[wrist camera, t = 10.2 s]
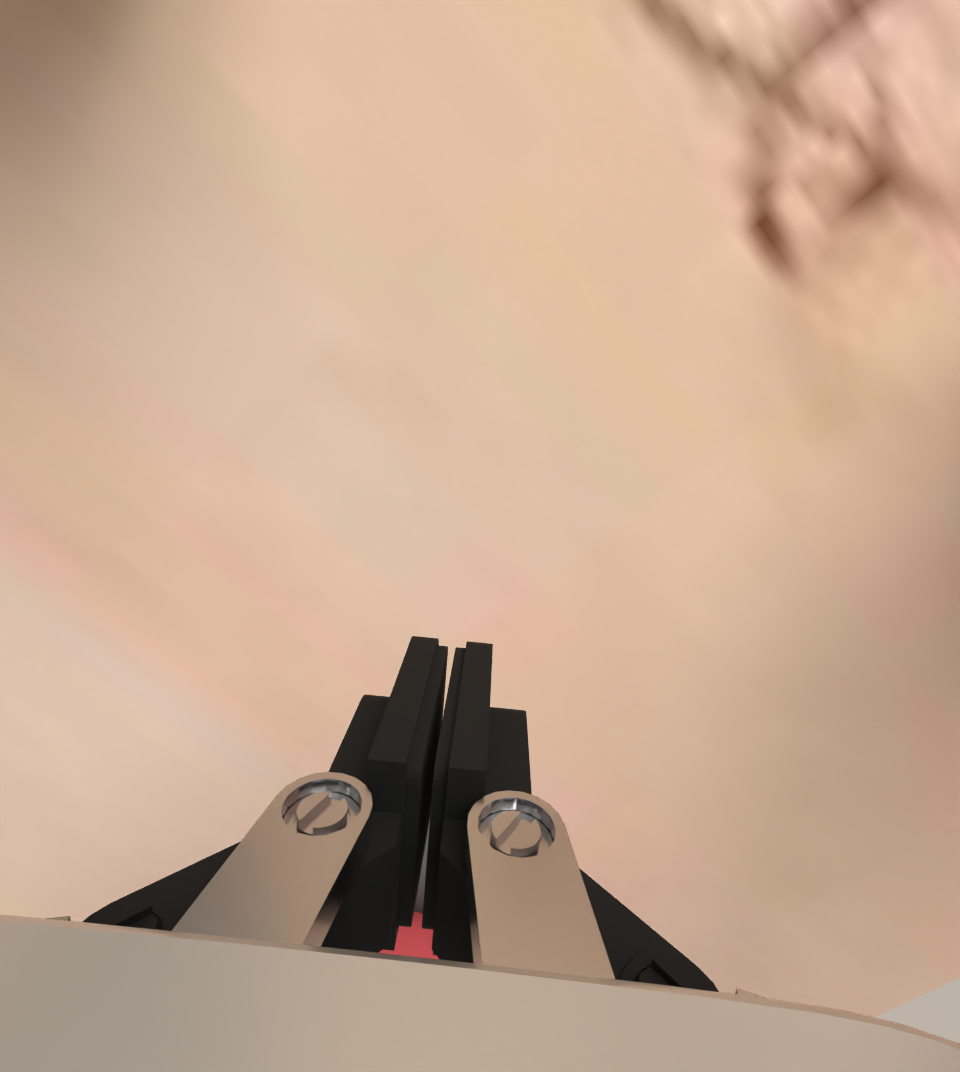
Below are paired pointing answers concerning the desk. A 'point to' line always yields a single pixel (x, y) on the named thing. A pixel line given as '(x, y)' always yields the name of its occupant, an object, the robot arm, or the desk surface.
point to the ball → (414, 940)
